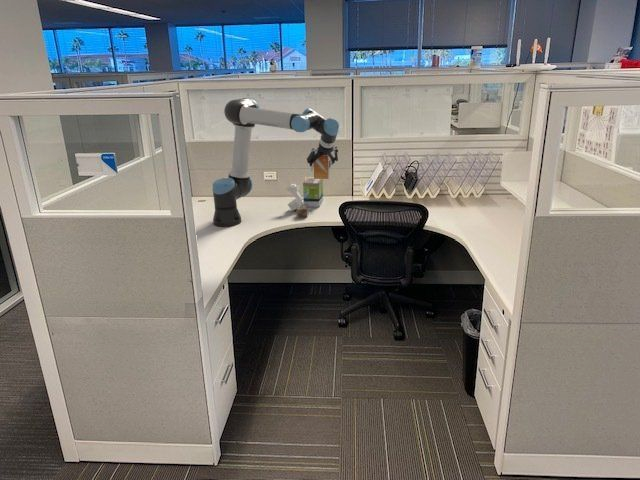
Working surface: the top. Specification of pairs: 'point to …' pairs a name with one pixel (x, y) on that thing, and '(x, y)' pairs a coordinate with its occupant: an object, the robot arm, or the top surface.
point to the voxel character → (298, 198)
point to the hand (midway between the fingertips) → (320, 167)
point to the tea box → (312, 192)
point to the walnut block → (301, 212)
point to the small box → (321, 167)
